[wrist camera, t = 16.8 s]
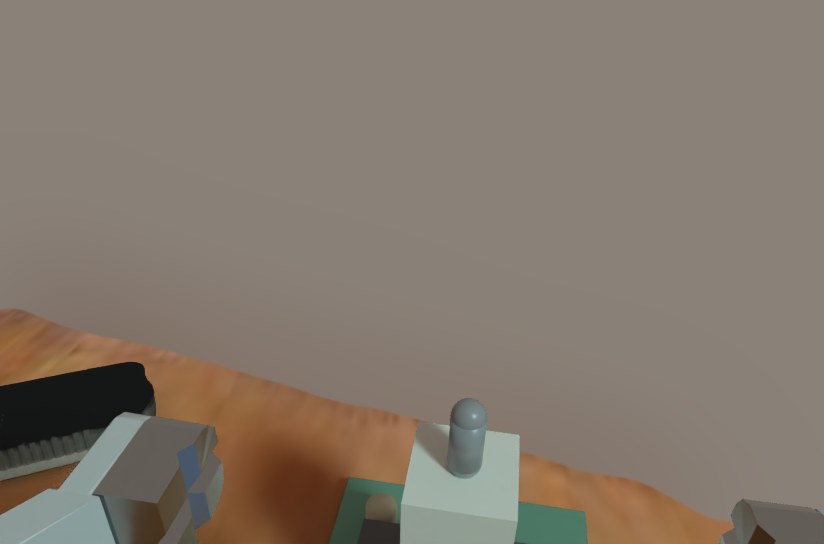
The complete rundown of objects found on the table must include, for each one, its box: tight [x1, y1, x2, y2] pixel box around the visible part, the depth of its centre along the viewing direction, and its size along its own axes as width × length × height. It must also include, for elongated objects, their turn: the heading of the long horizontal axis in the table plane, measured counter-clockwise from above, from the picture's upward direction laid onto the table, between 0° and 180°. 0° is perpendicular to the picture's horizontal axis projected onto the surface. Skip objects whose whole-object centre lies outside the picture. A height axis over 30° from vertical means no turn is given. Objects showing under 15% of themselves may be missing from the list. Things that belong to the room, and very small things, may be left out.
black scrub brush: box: [0, 362, 156, 481], centre depth 47 cm, size 16×8×4 cm, turn 111°
